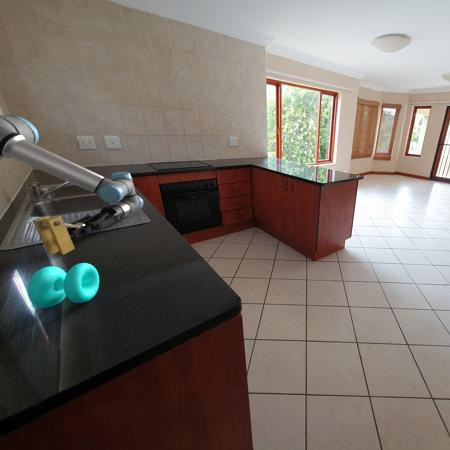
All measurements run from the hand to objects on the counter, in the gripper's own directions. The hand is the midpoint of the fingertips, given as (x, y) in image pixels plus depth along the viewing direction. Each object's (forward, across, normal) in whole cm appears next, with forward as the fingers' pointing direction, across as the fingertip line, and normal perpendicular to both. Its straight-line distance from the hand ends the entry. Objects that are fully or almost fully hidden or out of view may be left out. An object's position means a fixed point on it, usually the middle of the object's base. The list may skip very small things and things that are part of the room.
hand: (68, 234), depth 84 cm
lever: (0, 0, -2) cm, 2 cm away
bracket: (+4, 0, +6) cm, 7 cm away
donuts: (+27, +23, +6) cm, 36 cm away
